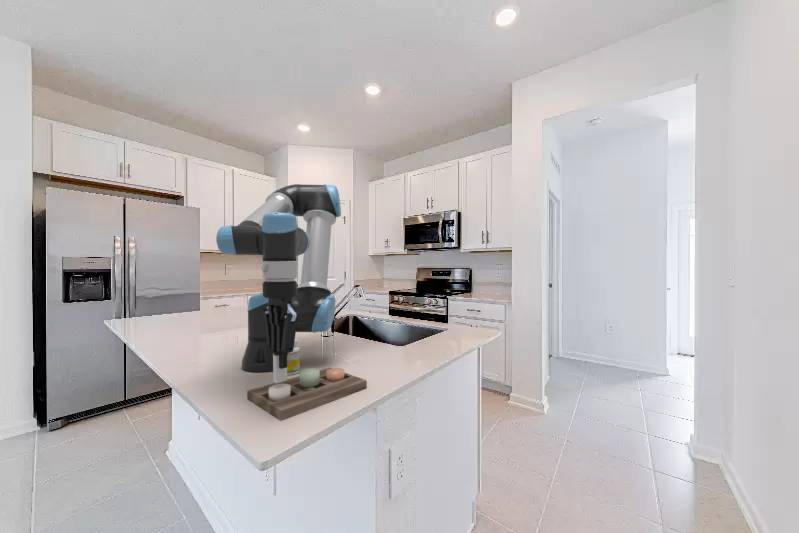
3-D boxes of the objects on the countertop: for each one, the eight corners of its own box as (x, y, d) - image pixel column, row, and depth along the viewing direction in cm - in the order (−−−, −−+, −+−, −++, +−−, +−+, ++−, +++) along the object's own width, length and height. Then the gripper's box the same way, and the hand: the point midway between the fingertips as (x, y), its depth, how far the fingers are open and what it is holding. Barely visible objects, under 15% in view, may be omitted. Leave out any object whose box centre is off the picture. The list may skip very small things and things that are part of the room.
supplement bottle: (300, 374, 96) (300, 341, 96) (281, 376, 93) (281, 343, 93) (298, 368, 101) (298, 337, 100) (280, 370, 98) (280, 339, 98)
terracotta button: (322, 382, 87) (322, 371, 87) (337, 377, 91) (337, 366, 91) (333, 386, 84) (333, 375, 84) (348, 381, 87) (348, 370, 87)
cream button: (264, 400, 75) (264, 387, 75) (284, 394, 79) (284, 382, 79) (274, 406, 72) (275, 393, 72) (294, 400, 76) (294, 387, 76)
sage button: (295, 383, 81) (295, 371, 81) (312, 378, 85) (312, 367, 85) (306, 388, 78) (306, 375, 78) (323, 383, 82) (323, 371, 81)
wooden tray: (247, 399, 78) (247, 390, 78) (329, 374, 96) (329, 367, 96) (280, 420, 67) (280, 410, 67) (366, 387, 85) (366, 380, 85)
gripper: (251, 279, 77) (251, 378, 77) (278, 282, 68) (279, 393, 69) (281, 278, 82) (281, 370, 83) (309, 280, 74) (310, 383, 74)
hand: (280, 380), depth 76 cm, fingers closed
